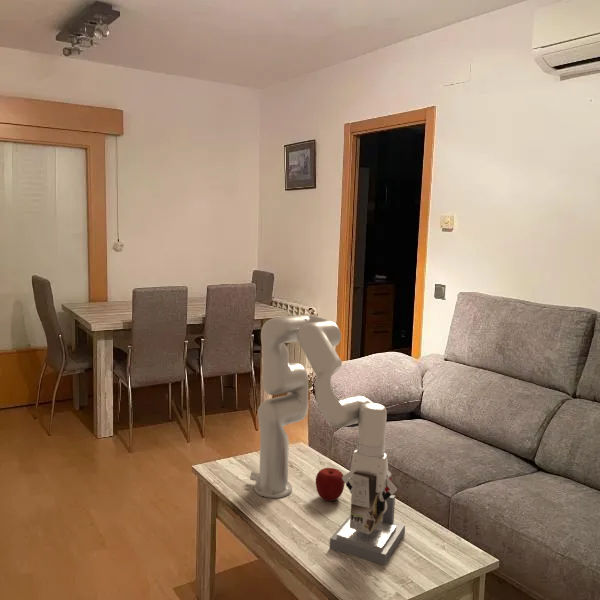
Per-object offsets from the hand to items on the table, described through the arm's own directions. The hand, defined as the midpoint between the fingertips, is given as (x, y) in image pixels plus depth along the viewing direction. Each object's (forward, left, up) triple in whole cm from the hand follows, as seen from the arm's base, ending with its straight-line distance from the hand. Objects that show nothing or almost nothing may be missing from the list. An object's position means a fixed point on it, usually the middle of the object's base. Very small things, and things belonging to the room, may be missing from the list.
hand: (367, 508), depth 161 cm
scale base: (0, +1, -10) cm, 10 cm away
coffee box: (0, 0, -5) cm, 5 cm away
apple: (-20, +19, -10) cm, 30 cm away
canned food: (-5, +23, -10) cm, 26 cm away
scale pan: (0, 0, -7) cm, 7 cm away
